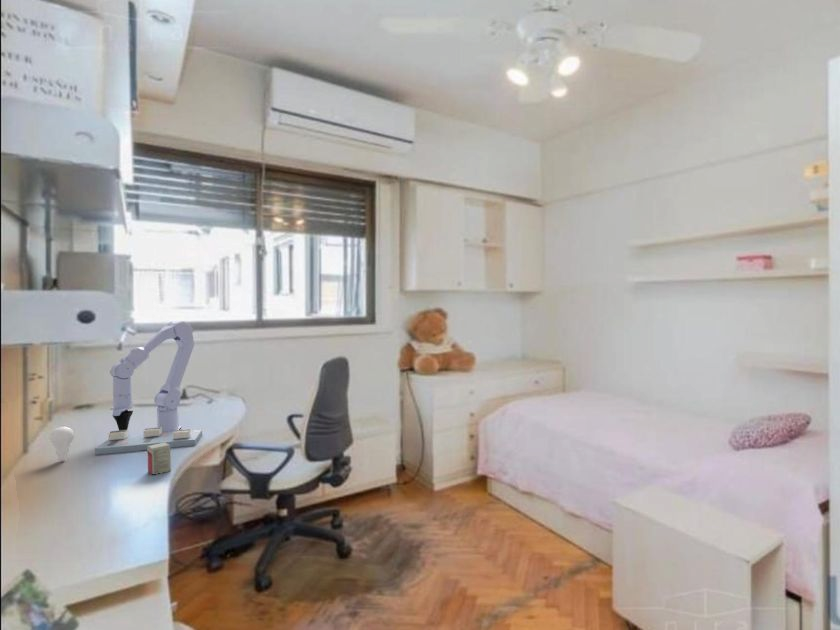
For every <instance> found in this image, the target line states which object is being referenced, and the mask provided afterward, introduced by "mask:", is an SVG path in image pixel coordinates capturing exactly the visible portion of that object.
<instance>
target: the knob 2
mask: <svg viewBox="0 0 840 630" xmlns="http://www.w3.org/2000/svg"><path fill="white" fill-rule="evenodd" d="M161 434H162V427H157V426H156V427H147V428H144V429H143V435H144V437H151V436H159V435H161Z"/></svg>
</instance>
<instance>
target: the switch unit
mask: <svg viewBox="0 0 840 630" xmlns="http://www.w3.org/2000/svg"><path fill="white" fill-rule="evenodd" d="M202 436H203V429H193V430H192V429H191V435H190V437H189V438H179V439H173V432H168V433H162V434H161V435H159V436H151V437H144V434H137V435H128V437H126V438H125V439H117V440H109V438H108V439H107V440H105V441H104V442H102V443H101V444H100V445H98V446H97V447H96V448H95V449H94V451H95V456H97V455H107V454H116V453H117V454H118V453H127V452H128V453H129V452H139V451H147V446H151V445H155V444H160V443H167V444H169V445H170V449H171V448H181V447H191V446H196V445H197V444H198V442H199V441H200V439H201V437H202Z"/></svg>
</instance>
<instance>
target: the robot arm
mask: <svg viewBox="0 0 840 630" xmlns="http://www.w3.org/2000/svg"><path fill="white" fill-rule="evenodd" d="M193 332H194V329H193V327H192V326H191V325H190V323H189V322H187V321H184V320H183V321H170V322H169V323H167V324H166V325H164V326H163V327H162V328H161V329H160V330H159V331H158V332H157V333H156V334H155V335H153V336H152V337H151V338H150V339H149V340H148V341H147V342H146V343H145V344H144V345H143V346H141V347H137V346H136V347H135V348H132V349H130V352H129V353H128V354H127V355H126V356H125V357H123V358H120V360H119V361H120V362H116V363H115V364H113V365H112V366H111V368H110V370H109V373H110V375H111V376H112V396H113V397H112V398H113V399H112V403H113V404H112V406H111V407H109V410H110V411H112V417H113V419H114V420H115V422H116V425H117V428H118V431H119V430H128V428H129V425H130V424H129V423H130V420H131V417H132V415H133V412H134V411H133V410H131V409H133V405H132V404H133V401H132V400H133V399H132V395H133V394H132V376H133V374H134V372H135V370H136V369H137V368H138V367H140V366H141V365H142V364H143V363H144V362H146V361H147V360H148V359H149V358H150V357H149V356H150V353H152V351H154V350H155V349H156V348H157V347H158V346H160V345H161V344H163V343H164V342H165V341H167V340H170V339H173V340H174V342H175V343H176V344H177V346H178V347H177V350H176V353H175V356H174V358H173V361H172V364H171V366H170V369H169V373H168V375H167V376H166V380H165V383H164V384H163V385H162V386H161V388H160V390H159V392H158V393H156V395H155V397H154V400H153V401H154V404H155V405H156V406H157V409H156V414H157V415H156V416H157V417H156V418H157V420H156V423H157V424H156V427H162V433H168V432H174V430H179V429H180V428H181V429H182V426H181V425H180V415H179V414H180V413H179V409H178V407H179V405H180V403H181V393H182V391H181V388H180V386H181V383H182V381H183V378H184V375H185V373H186V369H187V367H188V363H189V361H190V359H191V355H192V352H193V350H194V346H195V341H194V335H193Z"/></svg>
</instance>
